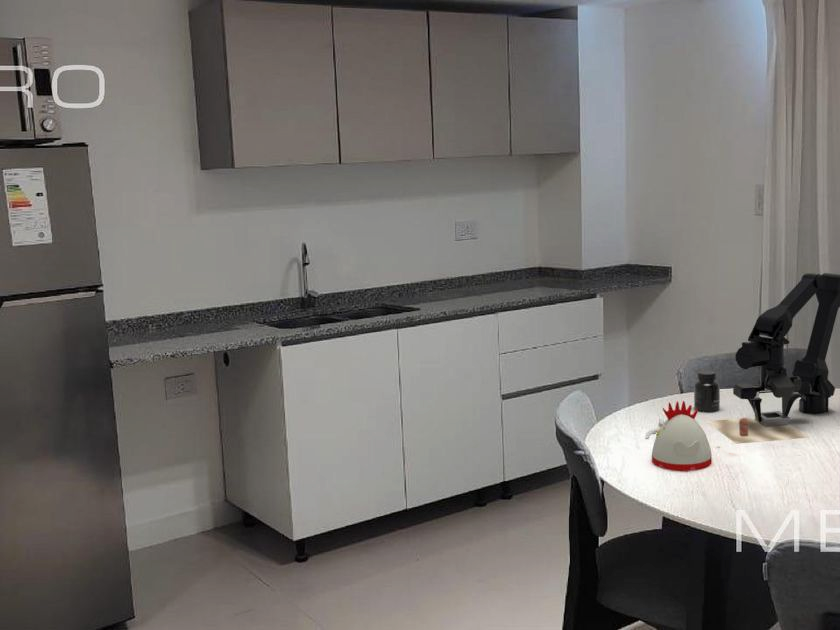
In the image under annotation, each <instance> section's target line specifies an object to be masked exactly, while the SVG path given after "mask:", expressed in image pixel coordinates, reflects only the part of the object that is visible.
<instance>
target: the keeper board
mask: <svg viewBox="0 0 840 630" xmlns="http://www.w3.org/2000/svg"><path fill="white" fill-rule="evenodd" d="M705 422H706V423H707V424H708V425H710V426H711V427H713V428H714V429H716V430H717V431H718V432H720V433H721V434H722V435H724V436H725V437H726V438H727V439H729V440H730V441H731V442H733V443H734V444H749V443H760V442H772V441H774V442H775V441H785V440H796V439H806V438H807V439H809V438H810V436H809V435H808V434H806V433H804V432H802V431H801V430H799V428H797V427H794V426H793V425H791V424H790V425H785V426H773V427H764V426H763V425H761V424H760V423H758V422H757V421H755V416H752V417H751V416H750V417H739V418H728V419H718V420H717V419H715V420H706V421H705Z"/></svg>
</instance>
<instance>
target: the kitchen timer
mask: <svg viewBox="0 0 840 630" xmlns="http://www.w3.org/2000/svg"><path fill="white" fill-rule="evenodd" d="M681 403H682V404H681V408H680V404H679V401H678V400H676V404H675V408H673V406H672V404H671V402H668V410H666V408H664V407H662V411H663V412H664V414H665V416H666V418H667V419H666V420H665V421H664V423H663V424H662V425H661V427H660V426H659V427H660V429H659V431H658V433H657V434H655V439H654V443H653V447H652V451H651V462H652V464H653V465H654V466H656V467H658V468H661V469H662V470H663V469H664V470H668V471H669V470H670V471H675V472H677V471H678V472H690V471H691V472H693V471H699V470H703V469H706V468H709V467H710V466H711V465H712V449H711V445H710V443H709V440H708V437H707V434H706V432H705V430H704V429H703V427H702V426H701V425H700V424H699V422H697V420H696V419H695V418H696V417H697V415H698V410H697V409H696V410H694V411H693V413H692V414H691V412H692V407H693V406H692V405H691V404H690V405H689V406H688V407H686V402H685V401H684V400H682V402H681Z"/></svg>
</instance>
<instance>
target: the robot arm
mask: <svg viewBox="0 0 840 630" xmlns="http://www.w3.org/2000/svg"><path fill="white" fill-rule="evenodd" d="M814 295H815V296H816V301H817V303H818V306H817V310H816V313H815V317H814V322H813V325H812V329H811V333H810V337H809V340H808V341H809V342H808V345H807V348H806V353H805V355H804V357H803V358H801V360H800V359H796V360H795V362H794V368H793V371H792V372H791V375H792V376H788V374H787V368H786V367H785V364H784V362H785V361H784V359H785V356H784V354H785V351H784V350H785V348H784V347H785V345H789V344H790V340H788V339H787V338H786V336H787V334H788V333H789V331H790V330H791V328H792V327H793V319H794V318H795V316H796V315H797V314H798V313H799V312H800V311H801V310H802V309H803V307H805V306H806V304H807V303H808V302H809V301H810V300H811V299H812V298H813V297H814ZM839 309H840V273H830V272H824V273H822V274H820V273H813V272H812V273H811V272H807V273H804V274H803V275H802V277H801V280H800V281H799V282H798V283H797V284H796V285H795V286H794V288H793V289H792V290H791V291H790V292H789V293H788V294H787V295H786V296H785V297H784V298H783V299H782V300H781V302H780V303H779V304H777V305H776V306H773V307H772V308H769V309H766V310H765V311H764V312H763V313H761V314H759V316H758V317H757V318H756V321H755V323H754V326H753V328H752V330H751V332H750V334H749V336H748V338H747V341H743V342H741V347H738V349H737V350H736V353H735V361H736V364H737V366H739V367H740V368H741V369H743V370H748V369H750V370H751V369H754V368H758V369H759V370H760V373H759V374H760V379H758V385H759V386H754V385H752V384H751V383H748V382H747V383H746V382H745V383H736V384H735V385H734V386H733V389H732V391H733V392H732V394H733V395H734V396H736V397H737V398H739V399H740V400H747V402H748V403H749V405H750V406H751V408H752V411H753V413H754V417H755V416H756V418H757V420H758V422H761V412H762V409H761V408H762V407H761V406H762V405H761V403H762V401H763V398H761V397H760V394H767V393H770V394H771V393H772V394H773V396H774V397H775V398H779V399H780V398H781V413H783V414H784V415H786V416H788V417H789V415H790V412H791V409H792V407H793V405H794V404H795V401H797V399H799V400H798V401H799V402H798V411H799V412H800V413H801V414H803V415H805V414H807V415H808V414H809V415H810V414H811V415H822V414H825V413H829V399H830V398H832V397H833V396H834V395H835V390H836V387H835V385H833V383H832V382H831V381H830V380H829V379H828V378H829V369H828V364H827V362H826V359H827V354H828V350H829V346H830V342H831V337H832V335H833V331H834V326H835V324H836V323H835V322H836V318H837V316H838V311H839Z"/></svg>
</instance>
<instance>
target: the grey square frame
mask: <svg viewBox="0 0 840 630" xmlns="http://www.w3.org/2000/svg"><path fill="white" fill-rule="evenodd" d="M754 417H755V421H757V422H758V420H757V418H756V416H755V415H754ZM758 423H760V424H761V425H763V426H764V427H773V426H785V425H791V424H790V423H791V419H790V416H789V415H788V416H786V415H784V414H783V413H782V411H779V410H777V411H776V410H775V411H773V410H772V411H763V412H762V411H761V422H758Z"/></svg>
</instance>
